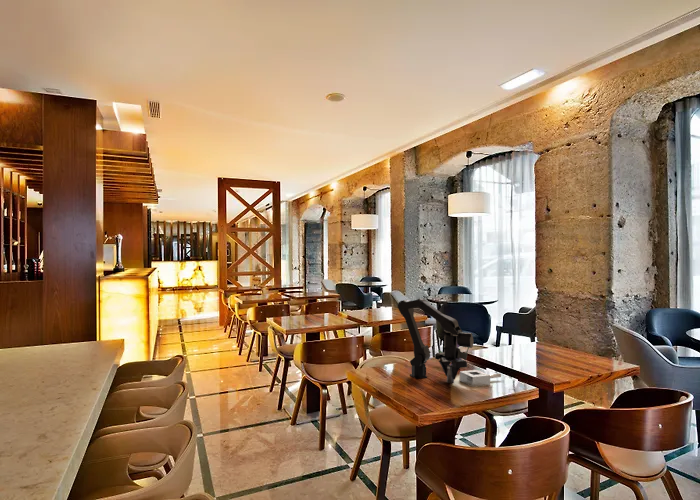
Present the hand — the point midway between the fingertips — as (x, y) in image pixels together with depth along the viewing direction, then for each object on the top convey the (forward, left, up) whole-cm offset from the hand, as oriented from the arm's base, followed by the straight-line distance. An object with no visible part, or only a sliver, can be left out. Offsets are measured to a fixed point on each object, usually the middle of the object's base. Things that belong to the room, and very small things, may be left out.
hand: (450, 377), depth 191 cm
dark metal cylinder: (0, 0, -2) cm, 2 cm away
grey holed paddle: (+16, -4, -2) cm, 17 cm away
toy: (+20, +25, -2) cm, 32 cm away
